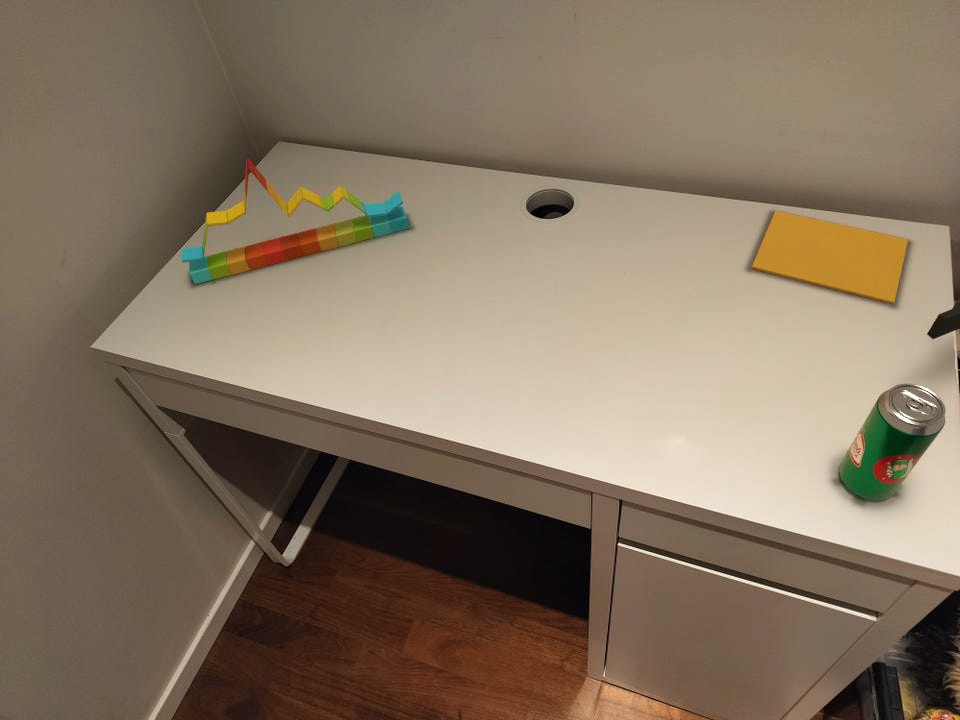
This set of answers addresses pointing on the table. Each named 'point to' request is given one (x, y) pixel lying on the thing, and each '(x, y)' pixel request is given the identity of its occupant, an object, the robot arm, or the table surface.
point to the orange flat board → (832, 256)
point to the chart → (295, 243)
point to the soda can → (892, 440)
